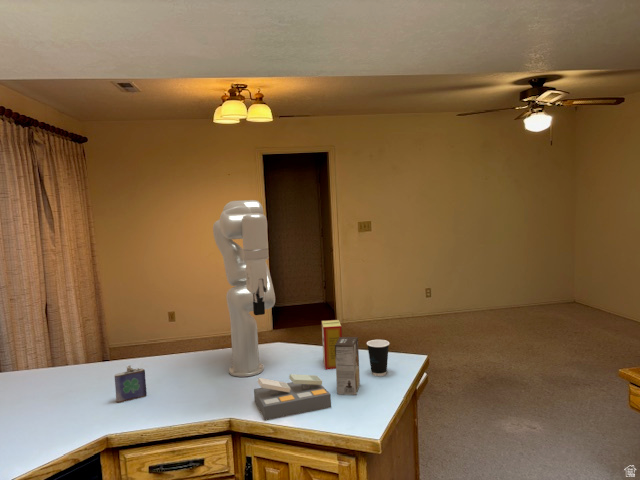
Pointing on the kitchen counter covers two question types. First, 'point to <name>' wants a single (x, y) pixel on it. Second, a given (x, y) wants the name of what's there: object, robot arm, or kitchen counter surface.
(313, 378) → the block
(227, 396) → the kitchen counter surface
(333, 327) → the baking soda box
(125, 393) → the flask
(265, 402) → the switch unit
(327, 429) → the kitchen counter surface
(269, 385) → the rocker offwhite
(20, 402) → the kitchen counter surface
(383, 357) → the dixie cup
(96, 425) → the kitchen counter surface
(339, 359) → the coffee box
